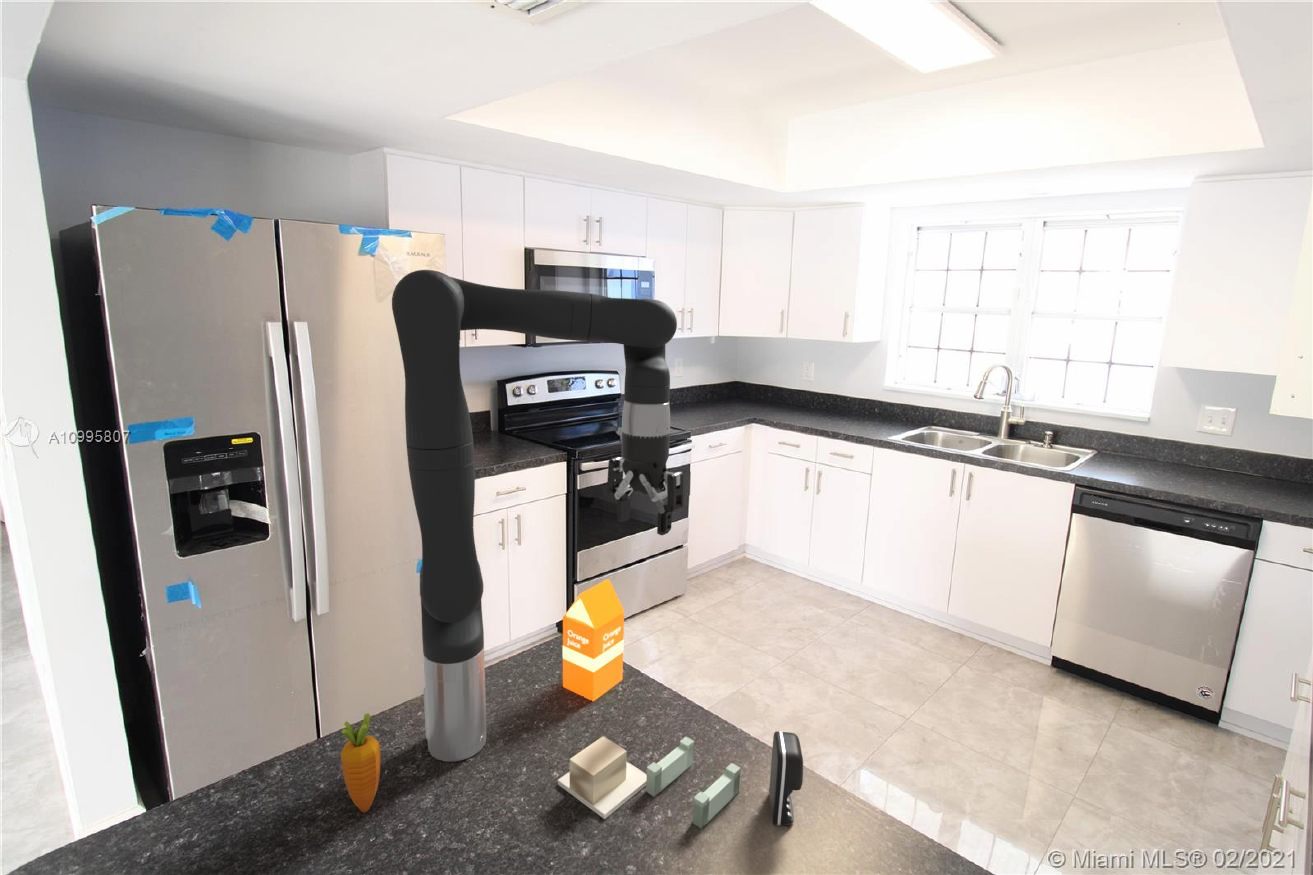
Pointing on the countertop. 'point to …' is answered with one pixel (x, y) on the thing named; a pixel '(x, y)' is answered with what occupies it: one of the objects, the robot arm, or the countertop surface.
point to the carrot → (361, 764)
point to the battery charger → (784, 776)
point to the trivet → (616, 796)
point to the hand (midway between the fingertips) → (642, 527)
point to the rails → (703, 801)
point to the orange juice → (593, 642)
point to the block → (598, 770)
